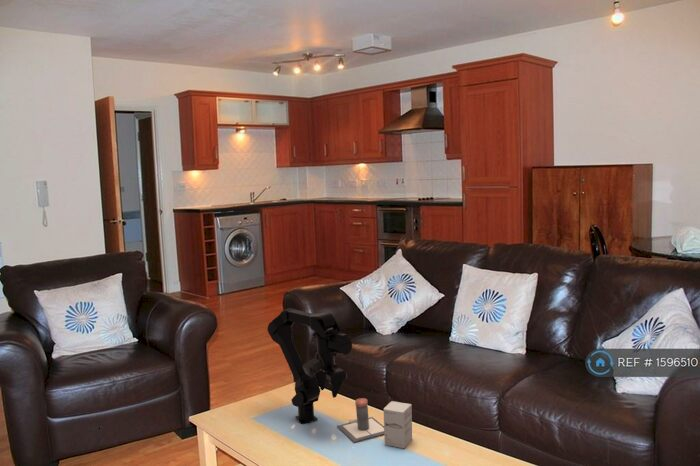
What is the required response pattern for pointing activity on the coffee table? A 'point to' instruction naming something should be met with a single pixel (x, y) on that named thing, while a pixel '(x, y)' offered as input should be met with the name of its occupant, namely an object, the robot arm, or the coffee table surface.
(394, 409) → the supplement box
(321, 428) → the coffee table surface
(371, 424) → the grey framed board
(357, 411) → the ball
